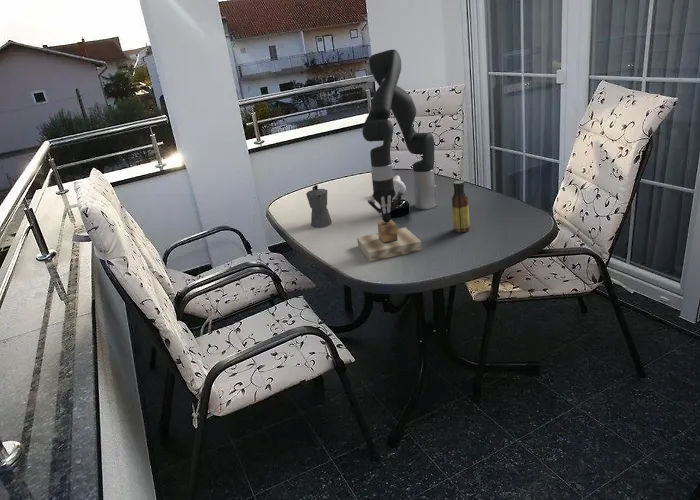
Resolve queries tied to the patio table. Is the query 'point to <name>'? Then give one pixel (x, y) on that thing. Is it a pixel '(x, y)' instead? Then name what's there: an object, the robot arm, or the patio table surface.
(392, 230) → the oak peg
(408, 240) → the birch board
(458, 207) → the sauce bottle
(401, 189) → the white knot
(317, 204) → the coffeepot
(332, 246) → the patio table surface
